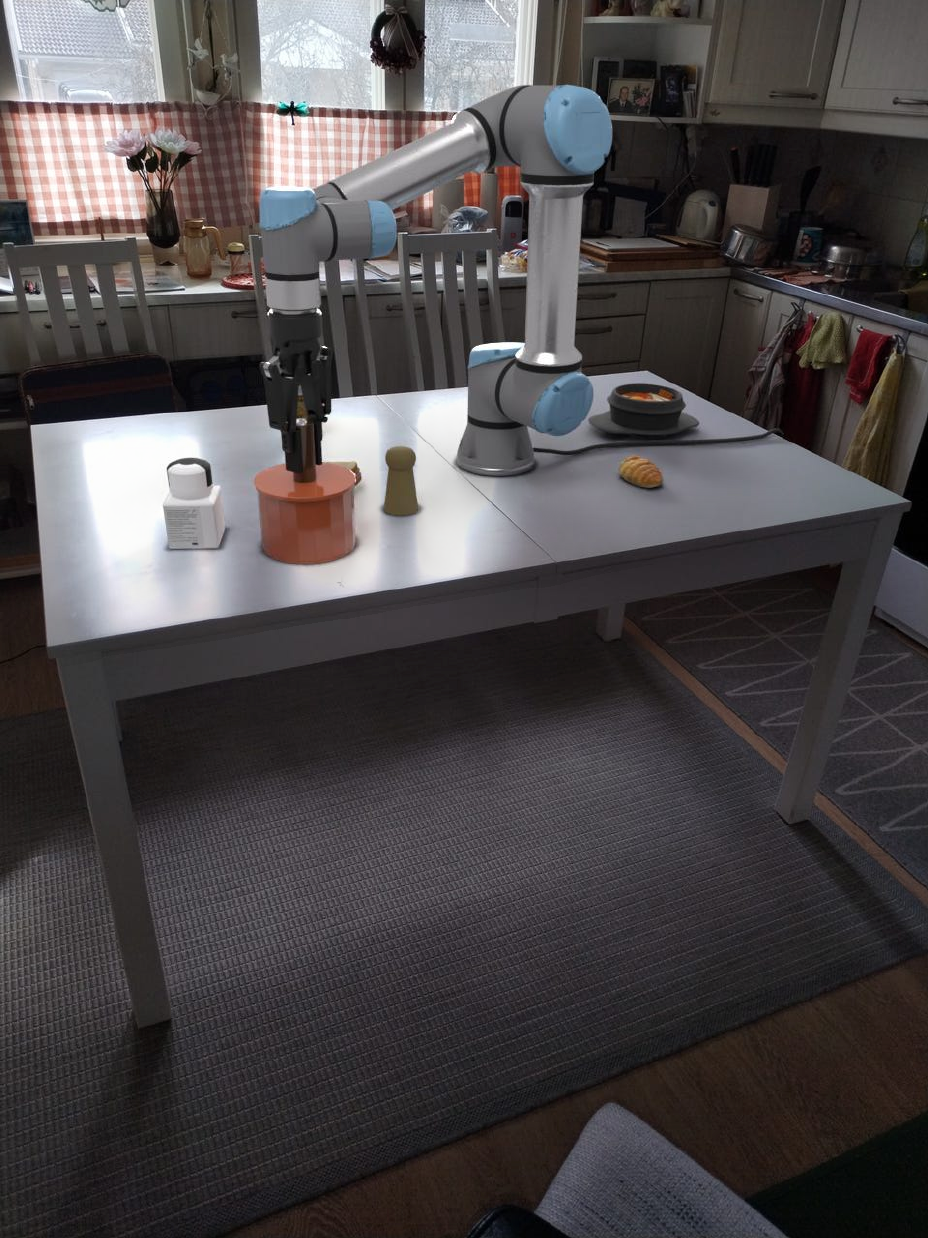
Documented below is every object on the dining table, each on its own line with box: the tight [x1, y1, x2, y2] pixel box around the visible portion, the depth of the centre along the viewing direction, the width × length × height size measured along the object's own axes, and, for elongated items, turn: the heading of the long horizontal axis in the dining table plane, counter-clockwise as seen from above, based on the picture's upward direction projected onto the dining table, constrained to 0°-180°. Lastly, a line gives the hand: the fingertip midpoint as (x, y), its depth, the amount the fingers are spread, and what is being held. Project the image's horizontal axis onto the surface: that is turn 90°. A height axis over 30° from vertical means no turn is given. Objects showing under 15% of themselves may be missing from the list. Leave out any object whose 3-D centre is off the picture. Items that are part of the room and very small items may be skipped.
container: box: [162, 457, 226, 550], centre depth 144 cm, size 8×8×13 cm
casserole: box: [587, 382, 700, 438], centre depth 201 cm, size 25×19×8 cm
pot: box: [256, 487, 357, 565], centre depth 145 cm, size 15×15×10 cm
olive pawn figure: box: [383, 445, 419, 517], centre depth 158 cm, size 6×6×11 cm
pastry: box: [618, 455, 664, 489], centre depth 174 cm, size 9×7×4 cm
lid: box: [252, 418, 356, 502], centre depth 140 cm, size 16×16×10 cm
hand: (304, 466), depth 141 cm, fingers open, 4 cm apart
